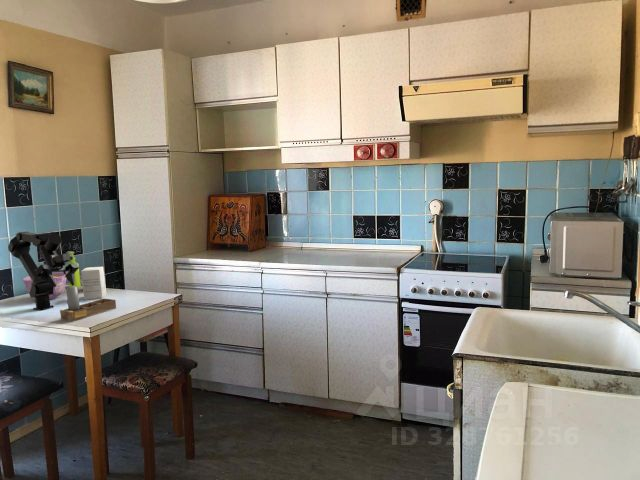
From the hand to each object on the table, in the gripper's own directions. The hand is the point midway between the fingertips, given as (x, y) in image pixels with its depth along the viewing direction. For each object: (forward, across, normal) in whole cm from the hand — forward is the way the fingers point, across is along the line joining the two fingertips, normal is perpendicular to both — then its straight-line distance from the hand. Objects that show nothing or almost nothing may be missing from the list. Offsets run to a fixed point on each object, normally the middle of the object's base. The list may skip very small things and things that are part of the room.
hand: (64, 285), depth 229 cm
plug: (+16, -2, 0) cm, 16 cm away
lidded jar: (-13, +43, +29) cm, 54 cm away
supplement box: (-2, +30, +17) cm, 34 cm away
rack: (+16, +5, 0) cm, 17 cm away
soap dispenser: (-24, +46, +43) cm, 68 cm away
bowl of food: (-15, +22, +37) cm, 46 cm away
